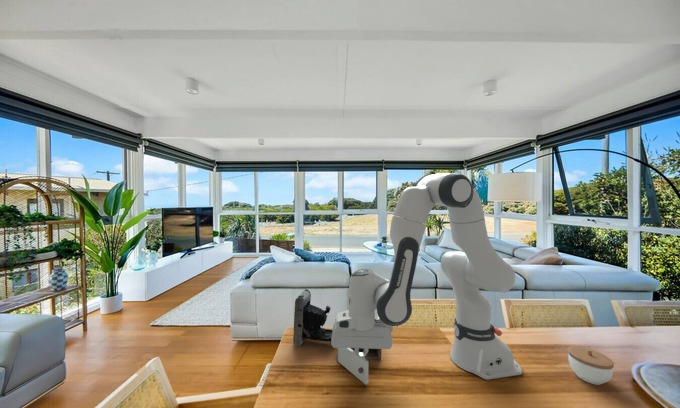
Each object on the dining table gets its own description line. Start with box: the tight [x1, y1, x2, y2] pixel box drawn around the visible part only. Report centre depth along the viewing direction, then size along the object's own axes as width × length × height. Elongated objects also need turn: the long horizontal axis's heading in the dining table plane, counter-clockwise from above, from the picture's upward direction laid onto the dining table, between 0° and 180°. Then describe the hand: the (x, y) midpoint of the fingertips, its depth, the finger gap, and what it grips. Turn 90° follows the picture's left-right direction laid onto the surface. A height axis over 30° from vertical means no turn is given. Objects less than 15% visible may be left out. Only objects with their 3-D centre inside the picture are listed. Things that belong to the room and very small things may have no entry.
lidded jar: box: [567, 345, 615, 386], centre depth 82 cm, size 11×11×9 cm
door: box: [336, 348, 370, 385], centre depth 83 cm, size 15×2×7 cm, turn 39°
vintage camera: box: [292, 288, 333, 347], centre depth 100 cm, size 10×16×20 cm, turn 79°
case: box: [351, 348, 382, 361], centre depth 96 cm, size 16×13×8 cm
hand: (361, 359), depth 83 cm, fingers closed
